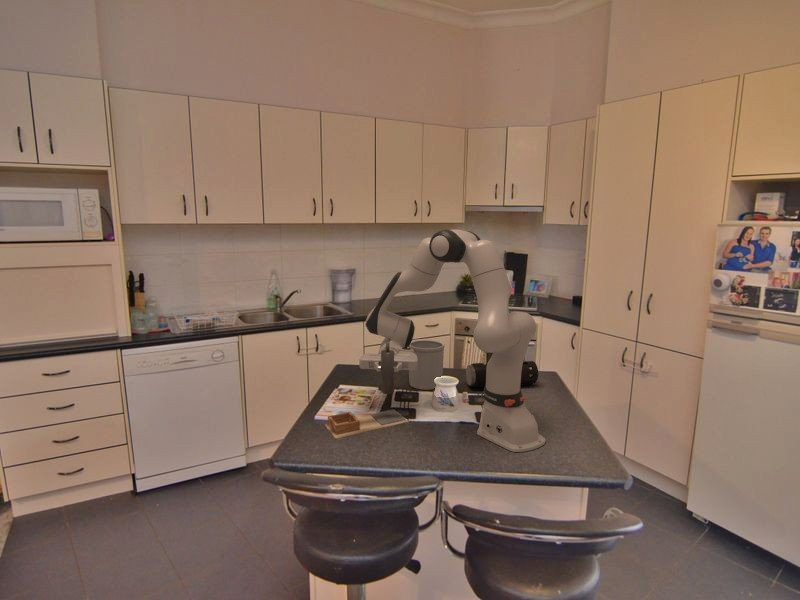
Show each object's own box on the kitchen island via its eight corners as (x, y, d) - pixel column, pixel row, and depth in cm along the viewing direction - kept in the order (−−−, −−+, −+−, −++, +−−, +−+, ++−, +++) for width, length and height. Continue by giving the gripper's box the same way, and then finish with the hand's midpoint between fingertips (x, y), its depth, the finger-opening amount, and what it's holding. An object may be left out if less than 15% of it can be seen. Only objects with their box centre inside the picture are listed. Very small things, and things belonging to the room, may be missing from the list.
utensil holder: (408, 377, 203) (408, 338, 200) (442, 377, 202) (443, 338, 199) (406, 390, 189) (407, 348, 185) (444, 391, 188) (445, 349, 184)
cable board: (408, 425, 158) (409, 413, 157) (335, 443, 146) (335, 429, 145) (394, 413, 168) (394, 401, 167) (324, 428, 156) (323, 415, 155)
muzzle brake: (537, 388, 191) (539, 364, 189) (471, 392, 187) (472, 368, 185) (527, 380, 200) (529, 357, 198) (464, 384, 196) (465, 360, 194)
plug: (396, 392, 158) (396, 344, 154) (384, 394, 156) (384, 345, 152) (390, 387, 162) (390, 340, 158) (378, 390, 160) (378, 342, 156)
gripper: (361, 347, 170) (356, 360, 156) (417, 348, 169) (417, 361, 155) (361, 364, 171) (356, 378, 157) (417, 365, 170) (417, 379, 157)
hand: (387, 369), depth 156 cm, fingers closed on plug, 4 cm apart
